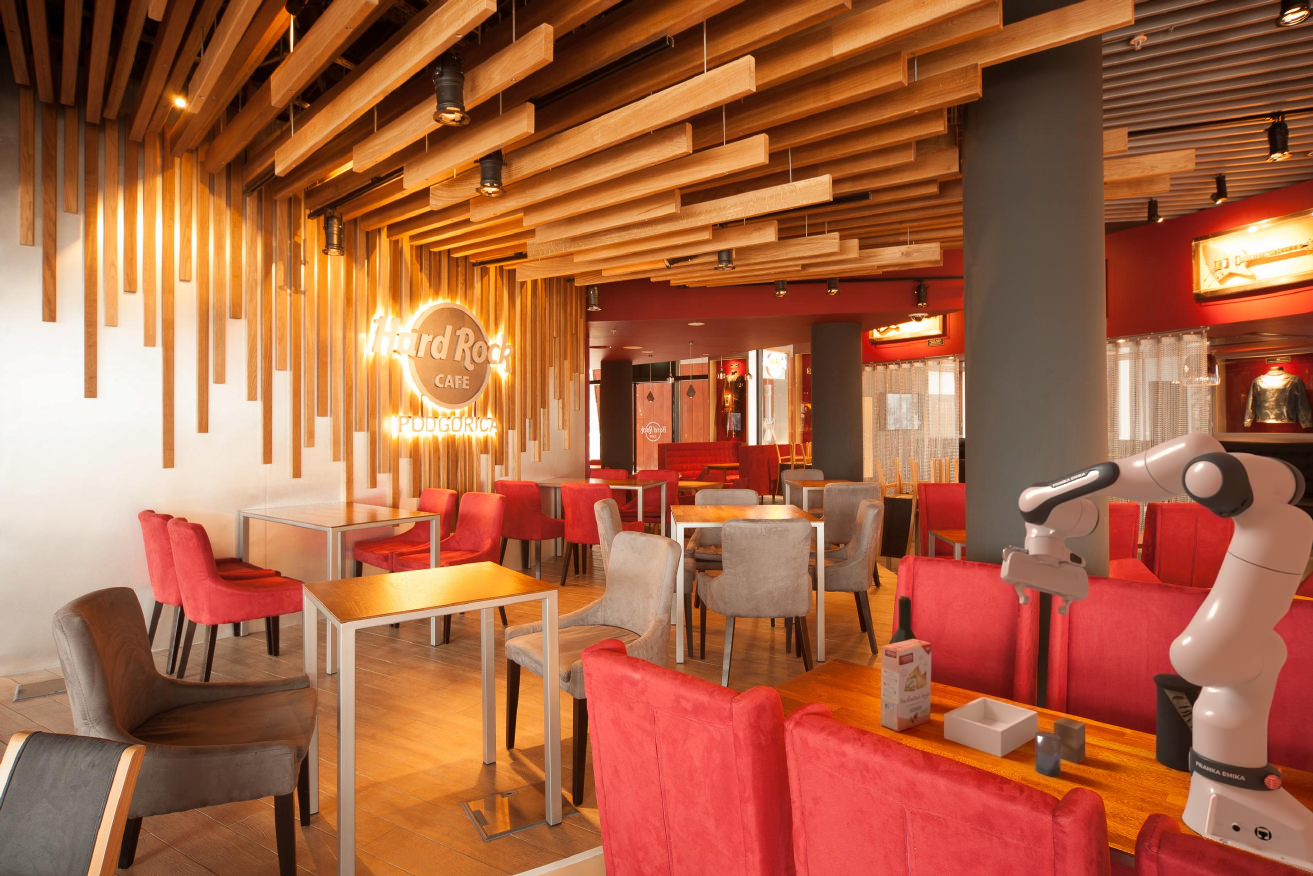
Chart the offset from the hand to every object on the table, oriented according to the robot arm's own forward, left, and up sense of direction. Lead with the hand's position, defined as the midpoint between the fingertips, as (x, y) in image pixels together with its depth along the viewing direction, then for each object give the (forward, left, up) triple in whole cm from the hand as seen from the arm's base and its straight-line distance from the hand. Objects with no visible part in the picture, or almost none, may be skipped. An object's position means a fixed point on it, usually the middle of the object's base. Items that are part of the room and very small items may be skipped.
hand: (1043, 609), depth 170 cm
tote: (+12, +2, -34) cm, 36 cm away
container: (-22, -17, -34) cm, 44 cm away
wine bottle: (+39, -3, -34) cm, 52 cm away
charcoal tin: (-5, +11, -34) cm, 36 cm away
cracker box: (+30, +11, -34) cm, 47 cm away
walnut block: (-5, -1, -34) cm, 34 cm away
